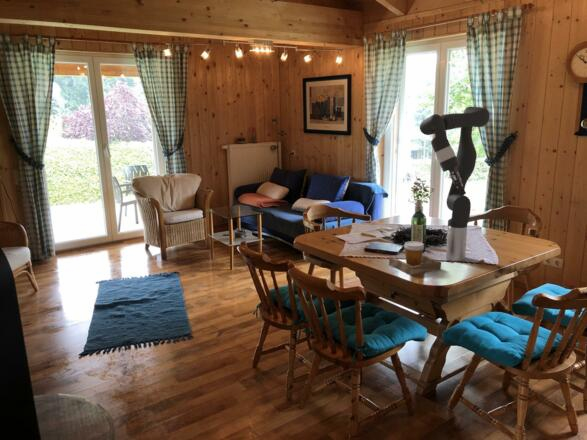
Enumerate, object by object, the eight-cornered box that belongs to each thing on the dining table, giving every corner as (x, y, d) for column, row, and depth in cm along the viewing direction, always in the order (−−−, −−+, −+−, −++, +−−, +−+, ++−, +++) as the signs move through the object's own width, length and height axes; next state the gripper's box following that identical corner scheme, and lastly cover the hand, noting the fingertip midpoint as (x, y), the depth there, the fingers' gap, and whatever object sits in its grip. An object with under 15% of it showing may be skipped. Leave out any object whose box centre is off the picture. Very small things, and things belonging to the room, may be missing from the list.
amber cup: (426, 266, 227) (427, 242, 224) (419, 271, 220) (420, 247, 217) (407, 262, 233) (408, 239, 230) (400, 268, 225) (400, 244, 222)
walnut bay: (389, 264, 230) (389, 257, 229) (416, 259, 237) (416, 252, 236) (411, 275, 215) (412, 267, 214) (440, 269, 222) (441, 261, 221)
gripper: (454, 155, 197) (471, 192, 196) (456, 154, 209) (472, 189, 208) (437, 162, 200) (454, 199, 199) (440, 162, 212) (456, 196, 211)
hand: (463, 194), depth 204 cm, fingers closed
